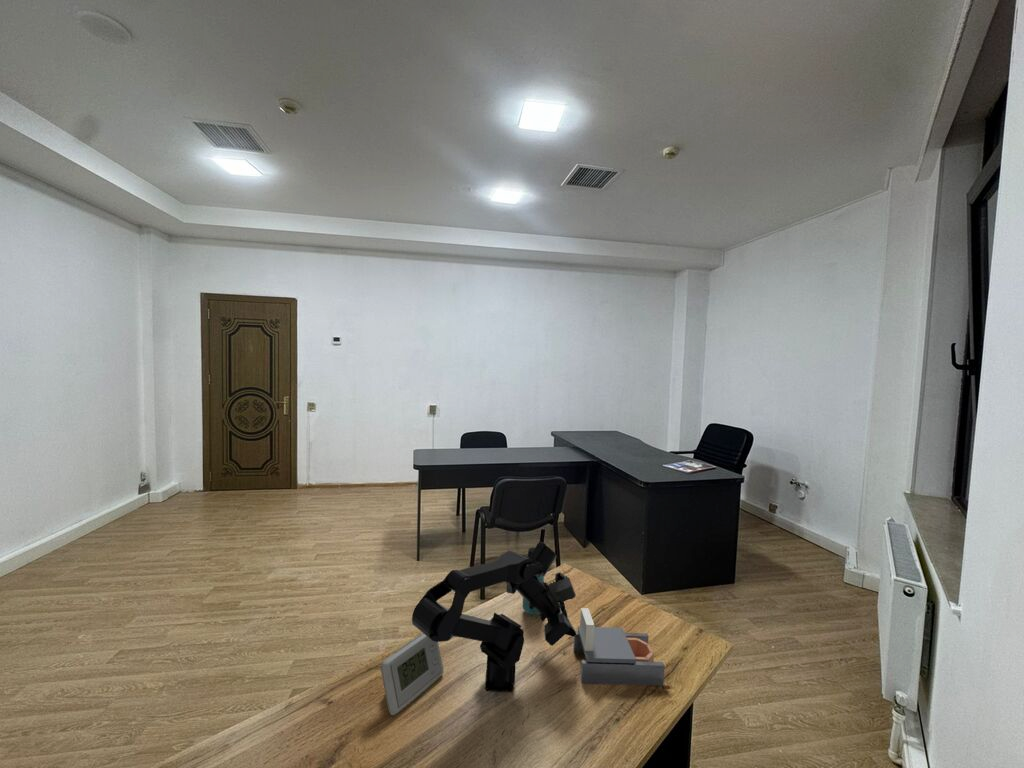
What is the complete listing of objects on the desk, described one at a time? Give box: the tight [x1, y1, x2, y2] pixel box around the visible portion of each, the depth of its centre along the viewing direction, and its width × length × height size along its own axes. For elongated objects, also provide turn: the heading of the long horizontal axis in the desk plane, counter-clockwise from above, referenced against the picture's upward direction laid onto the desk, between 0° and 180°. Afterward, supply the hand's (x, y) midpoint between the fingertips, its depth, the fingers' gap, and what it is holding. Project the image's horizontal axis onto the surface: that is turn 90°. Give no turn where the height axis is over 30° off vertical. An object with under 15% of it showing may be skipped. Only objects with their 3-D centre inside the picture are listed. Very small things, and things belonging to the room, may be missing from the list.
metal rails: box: [572, 630, 666, 687], centre depth 105 cm, size 20×12×5 cm, turn 91°
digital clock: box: [380, 632, 444, 716], centre depth 94 cm, size 16×9×11 cm, turn 134°
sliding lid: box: [577, 607, 636, 663], centre depth 104 cm, size 12×12×8 cm
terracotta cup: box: [627, 638, 655, 662], centre depth 105 cm, size 8×8×5 cm
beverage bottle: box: [521, 547, 545, 615], centre depth 126 cm, size 6×7×20 cm
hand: (574, 634), depth 104 cm, fingers closed
